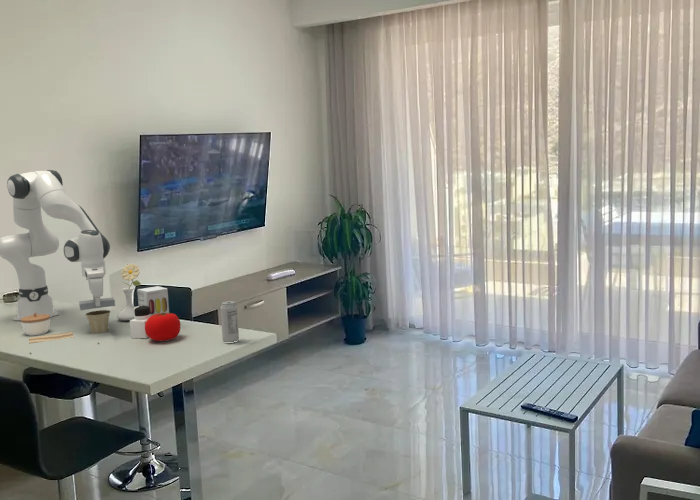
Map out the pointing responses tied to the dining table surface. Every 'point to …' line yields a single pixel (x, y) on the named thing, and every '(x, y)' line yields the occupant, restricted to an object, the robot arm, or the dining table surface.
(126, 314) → the flower in vase
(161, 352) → the dining table surface
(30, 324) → the lidded jar
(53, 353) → the dining table surface
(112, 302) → the slate tile
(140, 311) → the medicine bottle
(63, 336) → the wooden board
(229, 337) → the energy drink can
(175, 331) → the tomato
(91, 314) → the flower pot
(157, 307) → the supplement box
